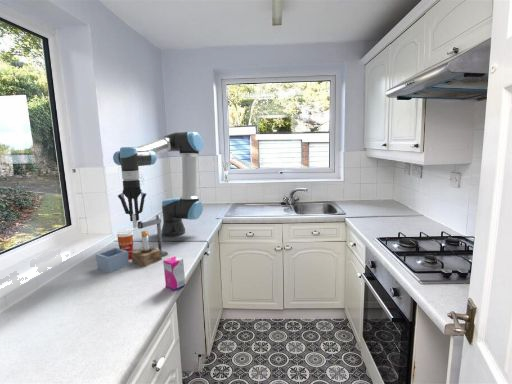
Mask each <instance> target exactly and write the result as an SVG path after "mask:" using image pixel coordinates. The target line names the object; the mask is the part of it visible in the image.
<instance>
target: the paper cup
mask: <svg viewBox="0 0 512 384" xmlns="http://www.w3.org/2000/svg"><path fill="white" fill-rule="evenodd" d="M116 237H117V242H118V249H122V250H125V251H128V258H129V261H132V255H131V253H132V252H134V239H133V237H134V232H133V231H132V230H127V229H126V230H121V231H118V232H117V234H116Z"/></svg>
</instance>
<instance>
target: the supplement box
mask: <svg viewBox="0 0 512 384" xmlns="http://www.w3.org/2000/svg"><path fill="white" fill-rule="evenodd" d="M162 263H163V271H164V272H163V274H164V281H165V288H167V289H170V290H171V291H173V292H174V291H177V290H179V289H181V288H183V287H185V286H186V277H185V264H184V258H181V257H178V256H172V257H169V258H168V259H164V260H163V262H162Z"/></svg>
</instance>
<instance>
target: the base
mask: <svg viewBox="0 0 512 384" xmlns="http://www.w3.org/2000/svg"><path fill="white" fill-rule="evenodd" d="M162 251H163V252H162V258H163V257H166V256H168V255H169V252H168V251H164V250H162Z"/></svg>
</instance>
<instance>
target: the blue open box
mask: <svg viewBox="0 0 512 384" xmlns="http://www.w3.org/2000/svg"><path fill="white" fill-rule="evenodd" d="M95 258H96V259H95V260H96V268H97V269H98V270H101V271H102V272H103V271H104V272H106V273H109V274H110V273H113V272H115V271H119V270H120V269H123V268H125V267H127V266H128V267H129V266H130V260H129V258H128V251H125V250H122V249H119V247H118V248H117V247H114V248H110V249H107V250H105V251H101V252H99V253H95Z"/></svg>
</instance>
